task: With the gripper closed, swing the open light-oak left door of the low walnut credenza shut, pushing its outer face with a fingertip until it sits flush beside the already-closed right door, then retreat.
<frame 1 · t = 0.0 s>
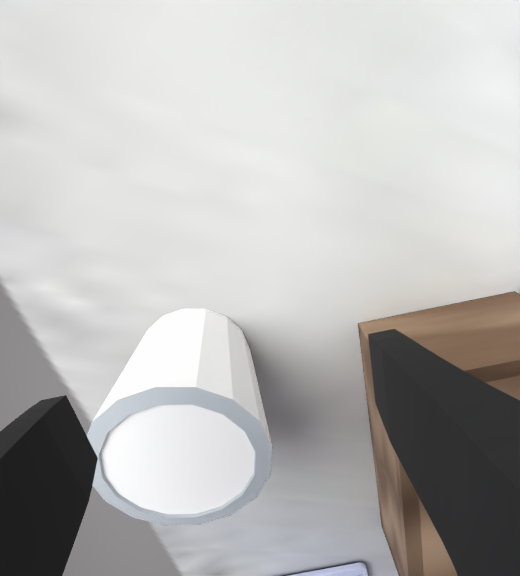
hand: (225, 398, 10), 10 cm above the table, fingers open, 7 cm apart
credenza: (438, 425, 24), on the table
shot glass: (196, 354, 21), on the table
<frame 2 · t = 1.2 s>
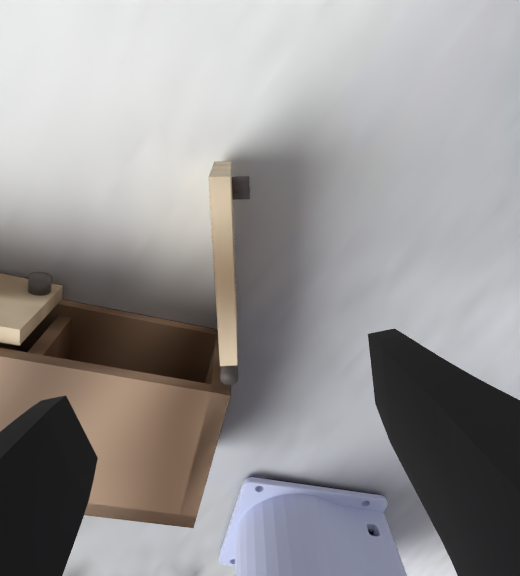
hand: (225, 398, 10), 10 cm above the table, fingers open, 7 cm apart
credenza: (64, 368, 21), on the table
left door: (234, 269, 17), point 2 cm above the table, hinge at 75.0°
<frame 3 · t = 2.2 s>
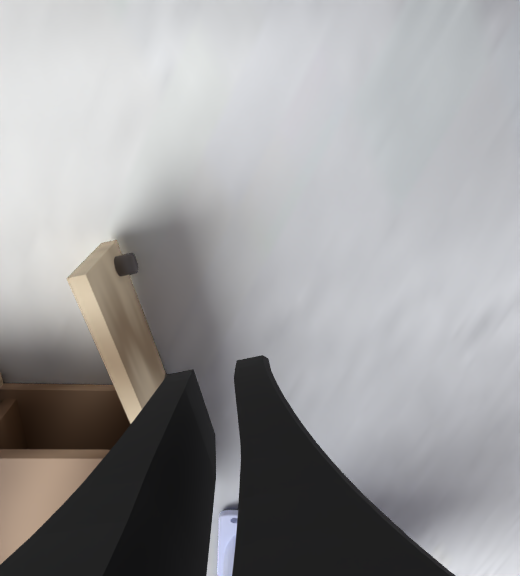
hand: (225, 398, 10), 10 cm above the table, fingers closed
credenza: (26, 440, 23), on the table
left door: (136, 340, 18), point 2 cm above the table, hinge at 75.0°
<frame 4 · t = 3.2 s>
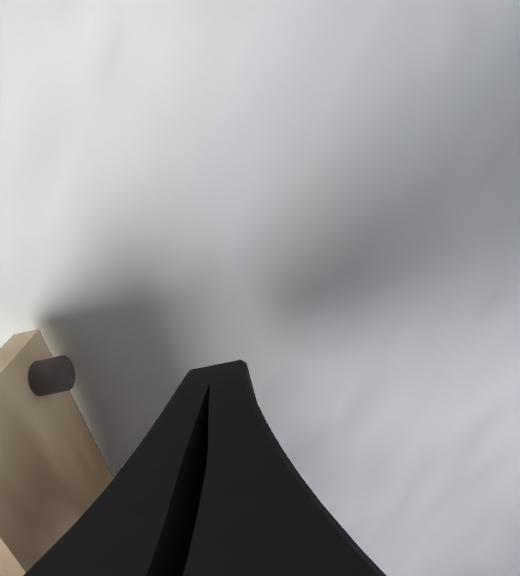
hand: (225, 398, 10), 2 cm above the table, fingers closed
left door: (71, 499, 11), point 2 cm above the table, hinge at 75.0°
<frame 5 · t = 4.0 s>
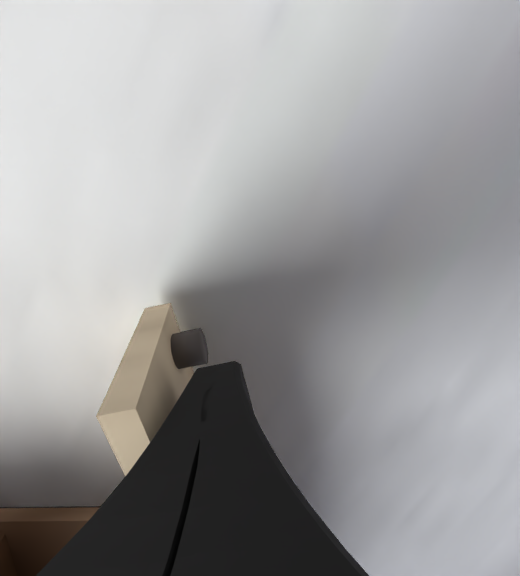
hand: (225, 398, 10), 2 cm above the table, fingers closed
left door: (205, 474, 11), point 2 cm above the table, hinge at 75.0°, touching gripper
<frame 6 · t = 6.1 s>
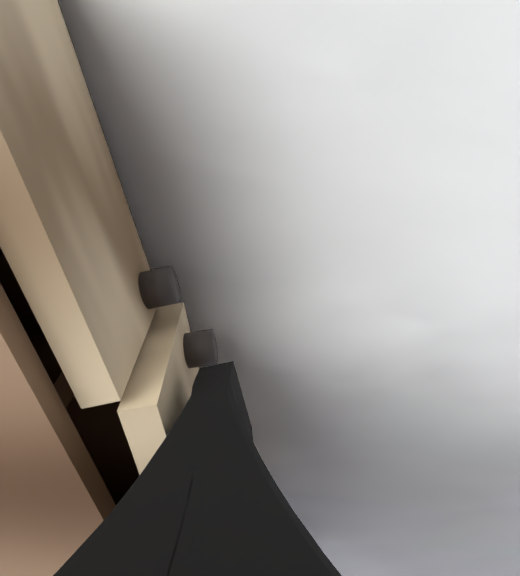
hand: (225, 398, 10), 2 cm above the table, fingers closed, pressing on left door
left door: (207, 474, 11), point 2 cm above the table, hinge at 4.1°, touching gripper
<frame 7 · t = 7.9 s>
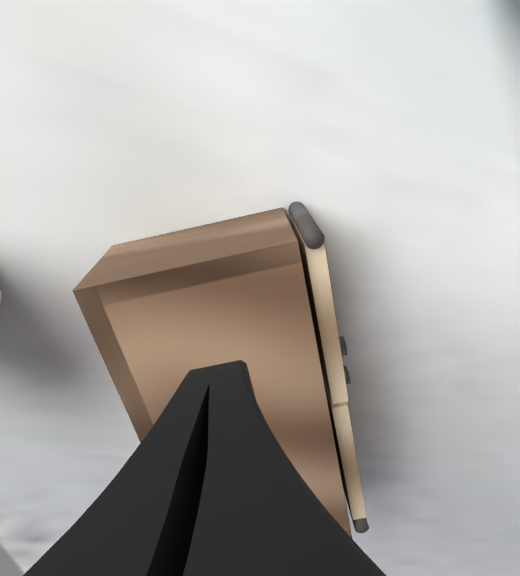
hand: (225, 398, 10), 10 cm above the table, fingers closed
credenza: (237, 368, 22), on the table
left door: (347, 438, 21), point 2 cm above the table, hinge at -0.5°
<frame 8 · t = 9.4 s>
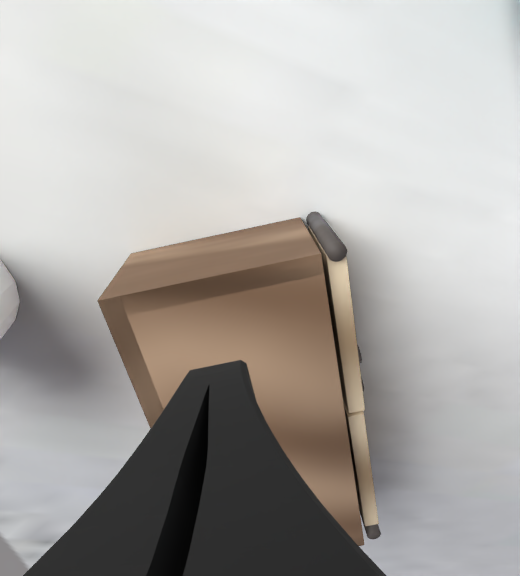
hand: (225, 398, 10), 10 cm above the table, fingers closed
credenza: (251, 374, 22), on the table
left door: (360, 445, 21), point 2 cm above the table, hinge at -0.5°
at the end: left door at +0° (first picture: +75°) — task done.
